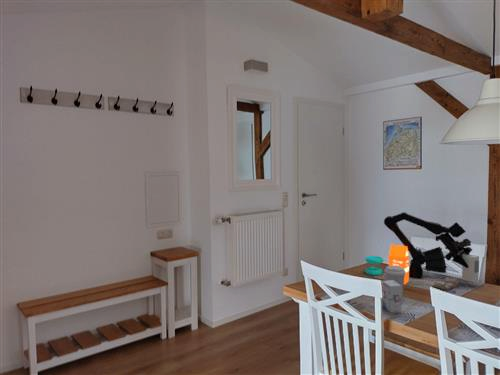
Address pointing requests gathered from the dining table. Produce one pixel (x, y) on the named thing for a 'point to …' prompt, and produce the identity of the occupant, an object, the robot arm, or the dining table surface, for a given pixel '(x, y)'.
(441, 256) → the black slab
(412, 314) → the dining table surface
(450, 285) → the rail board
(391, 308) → the ink box
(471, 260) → the module
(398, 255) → the orange juice
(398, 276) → the grey canister
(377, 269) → the donuts
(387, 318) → the dining table surface
